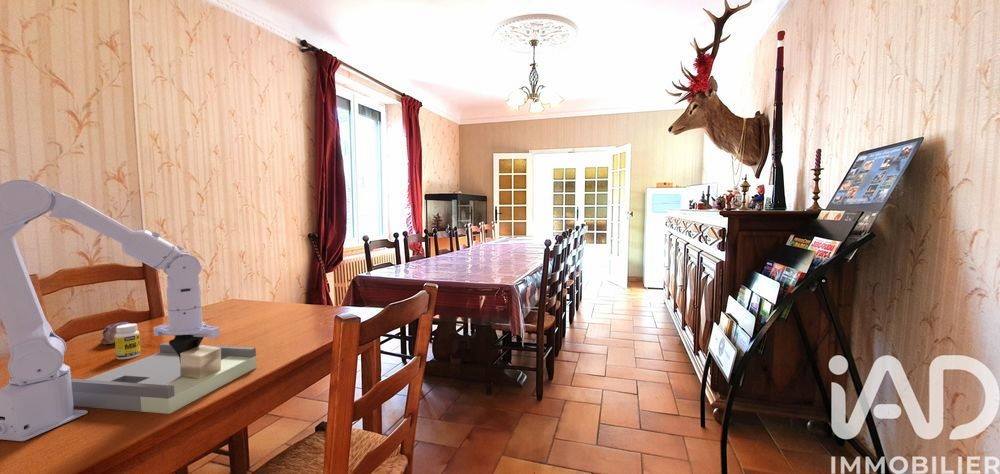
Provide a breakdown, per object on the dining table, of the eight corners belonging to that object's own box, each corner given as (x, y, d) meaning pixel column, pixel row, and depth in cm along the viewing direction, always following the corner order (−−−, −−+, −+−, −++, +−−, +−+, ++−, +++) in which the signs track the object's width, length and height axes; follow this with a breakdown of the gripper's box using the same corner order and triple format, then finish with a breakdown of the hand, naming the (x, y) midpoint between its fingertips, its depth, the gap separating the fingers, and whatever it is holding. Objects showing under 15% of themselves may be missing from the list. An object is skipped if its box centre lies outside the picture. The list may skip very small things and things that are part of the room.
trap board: (169, 413, 75) (167, 388, 75) (57, 404, 79) (55, 380, 79) (256, 367, 97) (255, 347, 96) (165, 362, 101) (163, 342, 100)
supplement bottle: (125, 360, 102) (123, 328, 101) (111, 359, 103) (108, 327, 102) (145, 353, 106) (143, 323, 106) (131, 352, 107) (129, 322, 107)
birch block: (200, 379, 84) (200, 356, 83) (180, 375, 84) (180, 353, 84) (220, 369, 88) (221, 348, 88) (201, 366, 89) (201, 345, 89)
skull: (102, 338, 119) (100, 319, 119) (136, 333, 125) (135, 314, 124) (99, 349, 111) (98, 327, 110) (136, 342, 116) (135, 322, 115)
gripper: (229, 304, 89) (233, 362, 90) (173, 302, 91) (177, 359, 92) (201, 312, 82) (205, 375, 83) (141, 310, 84) (146, 371, 85)
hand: (189, 368), depth 87 cm, fingers closed, pressing on birch block
